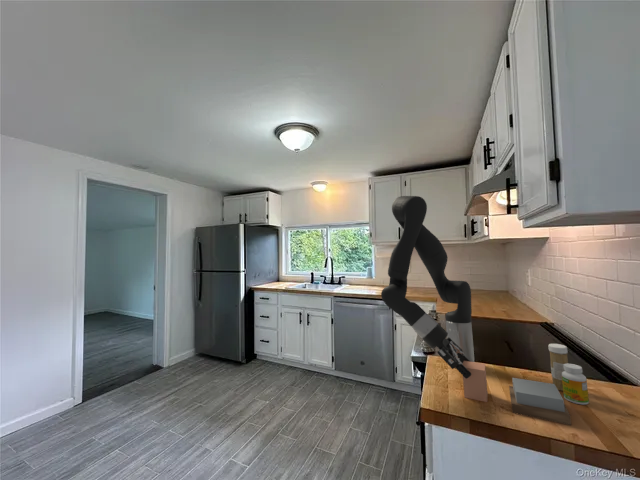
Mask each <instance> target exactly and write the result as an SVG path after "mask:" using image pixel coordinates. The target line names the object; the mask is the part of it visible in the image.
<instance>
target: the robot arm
mask: <svg viewBox="0 0 640 480" xmlns="http://www.w3.org/2000/svg"><path fill="white" fill-rule="evenodd" d="M427 205H428V204H427V202H426V200H425V199H424V198H423V197H422V196H418V195H402V196H398V197H396V198H395V199H394V200H393V202H392V204H391V212H392V215H393V217H394V218H395V220H396V221H397V223H398V224H399V225H400V227H401V228H402V229H403V231H402V234H401V237H400V238H399V240H398V242H397V243H396V245H395V247H394V248H393V250H392V252H391V254H390V259H389V263H388V268H387V275H388V277H389V283H388V284H389V285H388V286H385V287H383V289H382V290H381V294H380V298H381V299H382V301H383V304H385V305H386V306H387V307H388V308H389V309H390V310H392V311H393V312H394V313H396V314H397V315H399V316H400V317H402V318H403V319H404V320H405V322H406V323H407V324H408V325H409V326H410V327H411V328H412V330H414V332H415V333H416V334H417V335H418V336H419V337H420V339H422V341H424V342H425V344H426V345H428V347H430V349H435V348H436V347H437V349H438V351H437V355H439V356H440V358H441V359H442V360H443V361H444V362H445V363H446V364H447V365H448V366H449V367H450V369H452V370H453V369H455V370H457V371H458V372H459V373H460V374H461V376H462V377H463V376H464V377H465V378H466V379H467V378H469V377H470V376H471V372H470V371H469V370H468V369H467V368H466V367H465V366H464V365H463V362H464V361H469V362H475V354H474V353H475V352H474V351H475V349H474V340H473V338H474V337H473V328H472V327H473V326H472V324H473V323H472V289H471V286H470V283H469V282H467V281H466V280H465V281H464V280H449V279H448V278H447V276H446V274H445V271H446V267H447V265H448V264H447V263H448V257H449V256H448V253H447V252H446V250H445V248H444V246H443V243H442V242H441V241H440V240H439V239H438V237H436V235H435V234H433V232H432V231H430V230H429V229H428V228H427V227H426V226H425V225H424V224H423V223H424V221H425V219H426V215H427V212H428V211H427V210H428V206H427ZM414 249H415V250H416V252H417V255H418V257H419V258H420V260H421V262H422V264H423V265H424V267H425V269H426V270H427V272H428V273H429V276H430V278H431V280H432V282H433V284H434V286H435V289H436V291H437V292H438V293H437V294H438V295H439V297H440V299H441V300H442V301H443V302H444V303H447V304H456V305H457V306H456V309H454V310H451V311H447V312H446V313H445V328H444V327H442V325H440V324H439V323H438V322H437V320H435V319H434V318H433V317H432V316H431V315H429V314H428V313H427V312H426V311H425V310H424V309H423V308H422V307H421V306H420V305H419V304H418V303H416V302H413V301H410V300H409V299H407V298H406V296H407V291H408V276H409V269H410V266H411V260H412V255H413V251H414ZM445 329H446V330H445Z"/></svg>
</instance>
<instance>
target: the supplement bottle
mask: <svg viewBox="0 0 640 480" xmlns="http://www.w3.org/2000/svg"><path fill="white" fill-rule="evenodd" d="M564 370H565V371H563V372H562V383H563V391H562V392H563V399H565V400H566V401H568V402H570V403H573V404H577V405H584V406H585V405H588V404H590V399H589V390H588V381H587V377H586V376H585V375H584V374H583V373H584V371H583V367H582V366H581V365H579V364H578V365H577V364H574V363H568V364H564Z"/></svg>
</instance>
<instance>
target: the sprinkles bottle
mask: <svg viewBox="0 0 640 480" xmlns="http://www.w3.org/2000/svg"><path fill="white" fill-rule="evenodd" d="M547 348H548V351H549V358H550V372H551V377H552V378H551V380H552V384H555V386H556V388H557V389H558V391H562V392H563V383H562V372H563V371H565V370H564V364H569V360H568V352H569V351H568V347H567V345H564V344H560V343H549V344H548V347H547Z"/></svg>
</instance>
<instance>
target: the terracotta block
mask: <svg viewBox="0 0 640 480" xmlns="http://www.w3.org/2000/svg"><path fill="white" fill-rule="evenodd" d="M463 365H464V366H465V367H466V368H467V369H468V370H469V371H470V372H471V376H470V377H469V378H467V379H466V378H465V377H464V376H463V375H462V383H463V396H464V398H466V399H471V400H475V401H479V402H480V401H481V402H485V403H488V382H487V371H486V370H487V369H486V363H484V362H483V363H482V362H475V361H474V362H469V361H464V362H463Z"/></svg>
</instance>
